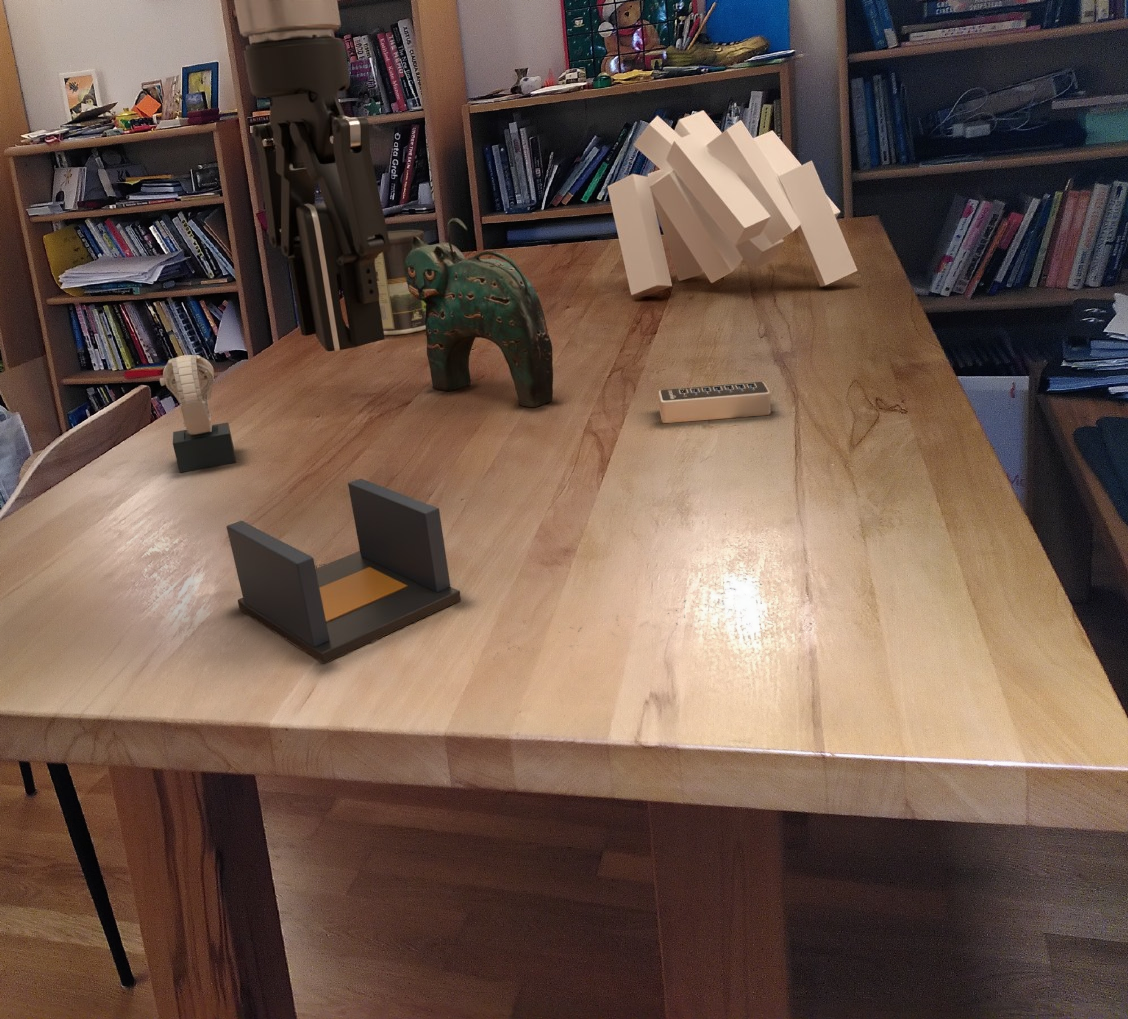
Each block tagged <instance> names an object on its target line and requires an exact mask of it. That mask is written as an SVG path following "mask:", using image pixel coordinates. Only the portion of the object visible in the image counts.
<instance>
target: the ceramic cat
mask: <svg viewBox="0 0 1128 1019" xmlns="http://www.w3.org/2000/svg"><path fill="white" fill-rule="evenodd" d="M454 222H455V223H456V224H458V226H460V227H461V228H462V229H463V230H464V231H465V232H466V233H468V227H467V226H466V224H465V223H464V222H463V221H462V220H461V219H460V218H458V217H452V218H451V219H449V220H448V222H447V228H446V229H447V230H446V232H447V242H439V243H435V244H427V243H426V242H425V241H424V242H422V241H421V240H420V239H419V238H418V237H416V236H413V241H412V243H413V246H412V251H411V252H410V253H409V254H408V256H407V258H406V260H405V273H406V281H407V284H408V289H409V292H410V293H411V294H412V295H413V296H414V297H416V298H417V299H419V300H422V301H424V302H425V303H426V315H425V327H426V330H425V338H426V356H427V360H428V365H429V370H430V379H431V385H432V386H431V387H432V389H435V390H439V391H443V392H453V391H456V390H459V389H462V388H466V387H468V386H471V385H472V378H471V373H470V355H471V352H472V348H473V345H474V342H475V340H476V338H477V339H478V338H479V339H484V340H488V341H490V342H492V343H494V344H495V345H496V346H497V347H498V348H499V350H500V351H501V352H502V354H503V357H504V359H505V361H506V364H507V365H508V369H509V372H510V376H511V379H512V381H513V385H514V388H515V392H516V393H515V394H516V396H517V399H518V404H519V405H520V406H522V407H528V408H537V407H541V406H543V405H545V404H548V403H551V402H553V396H554V395H553V394H554V364H553V360H554V359H553V345H552V344H553V343H552V340H551V338H550V337H551V336H550V335H549V331H548V326H547V320H546V317H545V313H544V309H543V307H542V303H541V300H540V298H539V295H538V293H537V291H536V290H535V288H534V286H533V285H532V283H531V281H530V280H529V279H528V278H527V277H526V276H525V275H524V273H523V271H522V269H521V268H520V267H519V265H518V264H517V263H516V261H514V259H513V258H510V257H509V256H508V255H505V254H503V253H501V252H497V251H494V250H485V251H482V252H479V253H478V254H475V255H474V256H470V257H468V258H466V256H465V255H464V253H463V252H461V250H460V249H459V248H458V247H457V246H455V245H453V244H452V241H451V236H450V235H451V234H450V230H451V226H452V224H453V223H454ZM488 255H489V256H493V257H496V258H497V259H495V258H481V257H483V256H488ZM500 259H501V260H500Z"/></svg>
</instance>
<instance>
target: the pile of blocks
mask: <svg viewBox="0 0 1128 1019" xmlns="http://www.w3.org/2000/svg"><path fill="white" fill-rule="evenodd" d="M632 145H633V146H634V147H635V148H636V149H637V150H638V151H639V152H640V153H642V154H643V155H644V156H645V157H646V159H648V160H649V161H650V162H652V163H653V164H654V165H655V166H656V167H657V168H658V169H657V170H655V171H652V172H649V173H647V176H646V175H641V174H636V173H631V174H629V175H628V176H626V177H623V178H621V179H619V180H618V181H615V182H613V183H611V184H609V185H608V186H607V192H608V196H609V200H610V206H611V209H612V214H613V219H614V223H615V227H616V232H617V236H618V241H619V246H620V250H621V255H622V260H623V264H624V268H625V273H626V278H627V282H628V286H629V292H630V296H638V297H639V296H640V297H647V296H650V295H653V294H655V293H658V292H660V291H663V290H665V289H668V288H671V287H673V283H672V278H671V273H670V270H669V265H668V261H667V256H666V252H665V247H664V242H663V238H664V240H665V243H666V246H667V249H668V252H669V255H670V258H671V262H672V264H673V267H674V271H675V274H676V277H677V280H678V281H679V282H681V281H684V280H687V279H691V278H694V277H697V276H700V275H701V276H702V275H703V273H704V274H705V276H706V278H707V279H708V280H709V282H710V284H713V283H715V282H716V281H718V280H720V279H722V278H724V277H725V276H727V275H730V274H731V273H733V271H734V270H735V269H736V268H737V267H738V266H739V265H740V264H741V263H742V261H743V262H744V263H745V264H746V265H747V266H748V267H749V268H751V269H752V270H753V271H754V272H755V271H757V270H759V269H761V268H763V267H765V266H766V265H769V264H771V263H772V262H774V261H776V260H777V258H778V256H779V253H780V251H781V249H782V247H783V245H784V241H785V240H784V238H786V237H787V236H788V235H790V234H792V233H793V232H794V231H796V232H797V235H798V237H799V239H800V242H801V244H802V247H803V249H804V252H805V254H806V256H807V258H808V260H809V263H810V266H811V268H812V270H813V273H814V275H815V277H816V279H817V282H818V284H819V287H820V288H821V287H825V286H827V285H830V284H832V283H834V282H836V281H838V280H841V279H843V278H844V277H847V276H850V275H851V274H853V273H856V272H858V268H857V266H856V263H855V261H854V258H853V256H852V252H850V248H849V247H848V244H847V242H846V239H845V237H844V234H843V231H842V229H841V227H840V225H839V221H838V220H837V218H838V216H839V215H840V213H841V210H840V209H839V208H838V207H837V206H836V204H835V203H834V202H833V200H831V198H830V197H829V195H827V193H826V190H825V188H824V186H823V184H822V181H821V179H820V176H819V174H818V171H817V169H816V167H815V164H814V162H813V160H809V161H808V162H805V163H804V164H801V163H800V161H799V160H798V159H797V158H796V157H795V155H794V154H793V153H792V151H790V149H789V148H788V147H787V146H786V145H785V143H784V142H783V141H782V139H780V137H779V136H778V135H777V134H776V133H775V131H774V130H770V131H767V132H765V133H763V134H760V135H757V136H755V137H753V136H752V135H751V133H750V131H749V129H748V128H747V127H746V125H745V124H744V122H743V121H742V119H740V120H738V121H737V122H735V123H734V124H733V125H731V126H730V127H728V128H727V129H725V130H724V131H722V130H720V129H719V128H718V127H717V125H716V124H715V123H714V122H713V120H712V119H711V118H710V117H709V116H708V114H707V113H706V111H705V110H700V111H698V112H695V113H693V114H690V115H688V116H685V117H683V118H680V119H678V120H677V123H676V125H675V127H674V129H673V128H672V127H671V126H670V125H668V123H667V122H665V121H664V120H663V119H662V118H661V117H660V116H659V115H656V117H654V118H653V119H652V120H651V122H649V124H647V126H646V128H645V129H644V130H643V131H642V133H641V134H640V135H638V137H637V139H635V141H634V142H633V144H632ZM660 227H661V229H660ZM661 232H662V233H661ZM662 234H663V238H662Z"/></svg>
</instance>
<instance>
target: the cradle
mask: <svg viewBox="0 0 1128 1019" xmlns="http://www.w3.org/2000/svg"><path fill="white" fill-rule="evenodd" d="M347 487H348V492H349V497H350V503H351V509H352V515H353V520H354V525H355V531H356V536H357V542H358V548H359V551H355V552H353V553H351V554H348V555H345V556H343V557H340V558H338V559H335V560H333V561H331V562H328V563H326V564H324V565H320V566H318V567H316V564H315V559H314V556H312V555H310V554H307V553H305V552H304V551H302V550H300V549H298V548H296V547H294V546H292V545H290V544H288V543H286V542H284V541H283V540H280V539H278V538H276V537H274V536H272V535H271V534H269V533H268V532H265V531H264V530H261V529H260V528H257V527H256V526H253V525H252V524H250V523H248V522H245V521H244V520H239V521H236V522H233V523H230V524H227V525H226V526H225V527H226V531H227V535H228V536H227V537H228V540H229V544H230V548H231V552H232V553H231V554H232V557H233V562H234V565H235V570H236V574H237V579H238V583H239V587H240V588H239V589H240V591H241V595H242V597H240V598H238V599H236V600H237V606H238V610H240V611H241V612H244V613H245V614H246V615H248V616H249V617H251V618H253V619H254V620H256V621H257V622H259V624H261V625H263V626H265V627H267V628H268V629H269V630H271V631H272V632H274V633H275V634H277V635H279V636H280V637H282V638H283V639H285V640H287V641H288V642H290V643H291V644H292V645H294V646H296V647H297V648H299V649H300V650H302V651H304V652H305V653H306V654H308V655H309V656H311V657H313V658H314V659H315V660H317V661H318V662H320V663H321V664H326V663H329V662H331V661H333V660H335V659H337V658H340V657H342V656H344V655H346V654H348V653H350V652H352V651H355V650H357V649H359V648H361V647H363V646H365V645H367V644H370V643H372V642H374V641H376V640H379V639H380V638H383V637H385V636H387V635H390V634H392V633H394V632H396V631H398V630H400V629H402V628H405V627H407V626H409V625H411V624H413V623H415V622H418V621H420V620H422V619H424V618H426V617H429V616H430V615H432V614H434V613H437V612H439V611H441V610H444V609H445V608H448V607H450V606H452V605H454V604H456V603H459V602H461V593H460V590H458V589H456V588H455V587H452V586H451V580H450V574H449V567H448V561H447V554H446V547H445V540H444V532H443V525H442V518H441V513H440V508H439V507H436V506H434V505H432V504H429V503H426V502H424V501H421V500H419V499H416V498H413V497H411V496H408V495H406V494H403V493H401V492H398V491H395V490H392V489H390V488H387V487H385V486H382V485H379V484H377V483H374V482H371V481H369V480H366V479H364V478H358V479H356V480H352V481H350V482H347Z"/></svg>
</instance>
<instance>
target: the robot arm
mask: <svg viewBox="0 0 1128 1019" xmlns="http://www.w3.org/2000/svg"><path fill="white" fill-rule="evenodd" d="M233 2H234V3H233V4H234V8H235V14H236V18H237V19H236V20H237V25H238V29H239V34H240V36H242V37H243V38H246V39H247V38H248V41H249V44H247V45H246V46H245V50H243V56H244V60H245V65H246V72H247V77H248V82H249V88H250V92H251V94H252V95H253V96H254V97H256V98H259V99H261V98H262V99H265V98H267V99H268V100H269V122H268V123H262V124H254V125H253V126H252V128H251V130H252V131H251V132H252V136H253V140H254V143H255V144H254V145H255V148H256V150H257V154H258V159H259V167H260V168H259V169H260V176H261V177H260V178H261V184H262V191H263V192H262V193H263V201H264V209H265V216H266V225H267V233H268V241H269V244H270V246H271V247H272V248H273V249H277V248H279V249H280V250H281V253H282V255H283V256H284V257H285V258H287V260H288V261H287V262H288V266H289V272H290V278H291V283H292V289H293V294H294V295H293V296H294V301H295V305H296V312H297V316H298V321H299V328H300V333H301V336H305V337H307V336H312V335H316V334H315V328H314V322H313V316H312V310H311V304H310V298H309V292H308V287H307V281H306V275H305V269H304V263H303V257H302V252H301V246H300V240H299V234H298V227H297V221H296V208H297V207H298V206H302V205H303V204H316V184H317V185H318V188H319V192H320V194H321V197H322V199H323V200H322V201H323V203H325V205H326V208H327V211H328V214H329V217H330V219H331V222H332V225H333V228H334V231H335V233H336V236H337V239H338V242H339V245H340V247H341V250H342V253H343V255H342V256H341V257H339V258H338V259H337V260H336V261H337V263H338V264H339V270H340V276H341V282H342V286H341V288H342V294H343V300H344V306H345V314H346V319H347V325H348V326H349V331H350V338H351V344H352V346H356V347H355V348H357V346H358V347H360V346H365V345H369V344H372V343H376V342H379V341H385V339H386V338H385V335H384V330H383V324H382V317H381V310H380V304H379V290H378V283H377V276H376V269H375V258H377V257H378V255H379V254H380V253H382V252H386V251H389V249H390V241H389V237H388V232H387V231H388V228H387V223H386V218H385V214H384V210H383V205H382V199H381V195H380V191H379V185H378V182H377V177H376V172H375V168H374V163H373V158H372V154H371V153H372V152H371V143H370V123H369V120H368V118H367V117H366V116H354V117H349V116H346V115H345V113H344V110H343V107H342V105H341V103H340V99H339V96H338V95H339V94H338V92H343V91H346V90H348V89H349V87H350V86H351V79H350V78H351V77H350V73H349V71H350V70H349V64H348V59H347V52H346V44H345V42H342V39H341V38H339V37H335V32H337V31H339V29H340V28H341V27H342V22H341V17H340V10H339V3H338V0H233ZM373 235H375V237H373ZM353 242H354V245H353Z"/></svg>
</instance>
